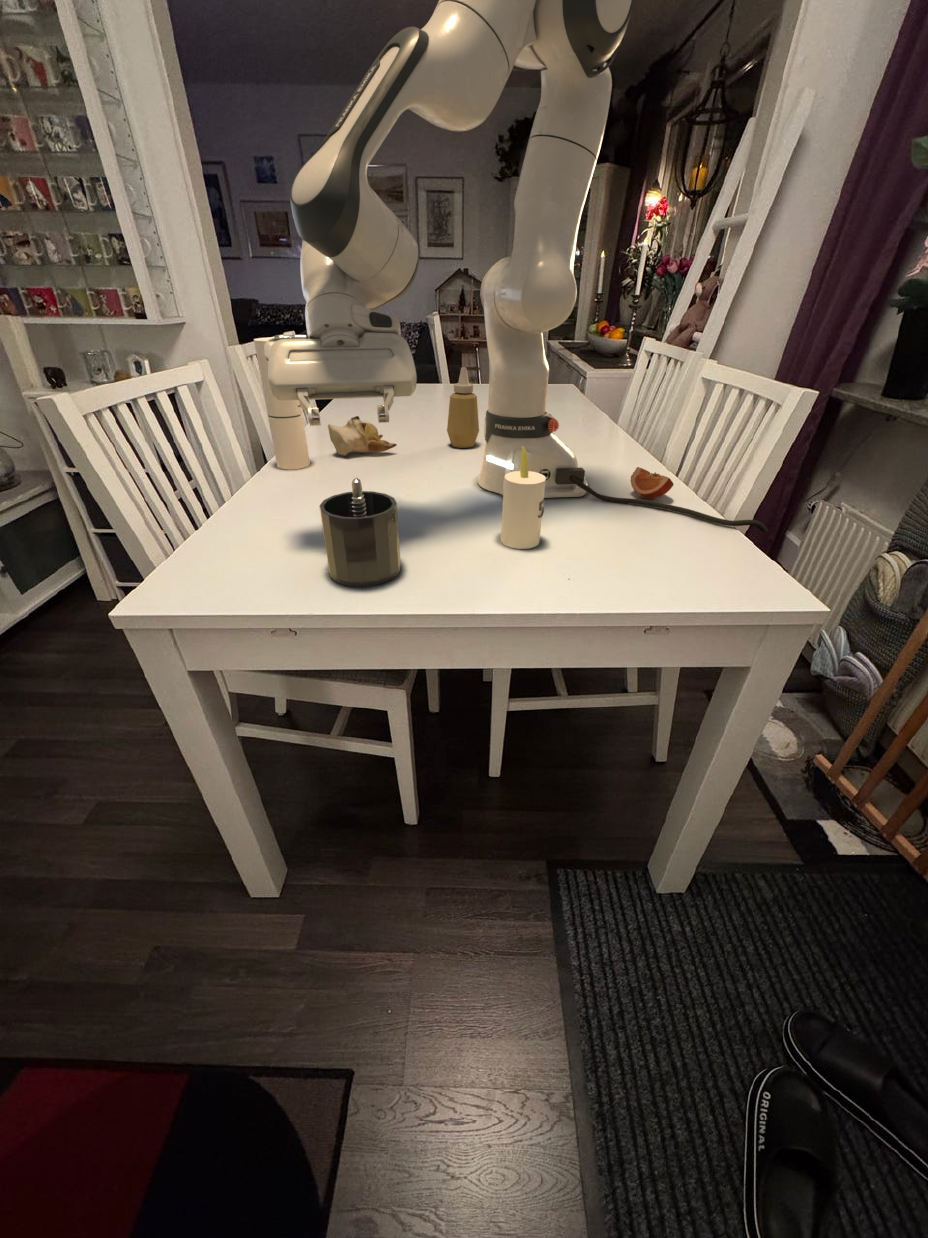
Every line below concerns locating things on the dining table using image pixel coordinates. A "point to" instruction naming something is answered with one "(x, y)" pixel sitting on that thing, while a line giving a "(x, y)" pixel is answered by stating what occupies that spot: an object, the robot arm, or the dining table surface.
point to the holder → (361, 539)
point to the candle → (522, 506)
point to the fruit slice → (650, 483)
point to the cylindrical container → (283, 420)
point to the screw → (358, 499)
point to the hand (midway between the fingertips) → (349, 421)
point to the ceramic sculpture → (357, 437)
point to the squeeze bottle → (463, 414)
